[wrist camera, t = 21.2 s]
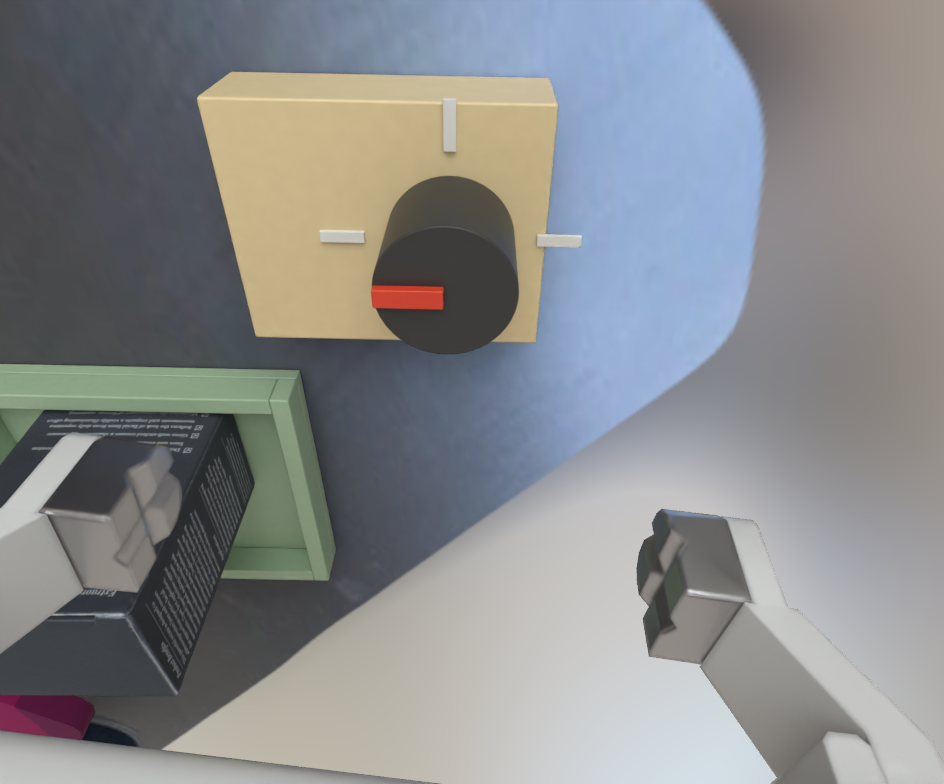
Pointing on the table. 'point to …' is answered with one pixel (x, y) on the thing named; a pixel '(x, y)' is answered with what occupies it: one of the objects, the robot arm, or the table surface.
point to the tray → (261, 430)
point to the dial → (447, 267)
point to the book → (46, 715)
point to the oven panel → (368, 183)
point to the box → (169, 580)
